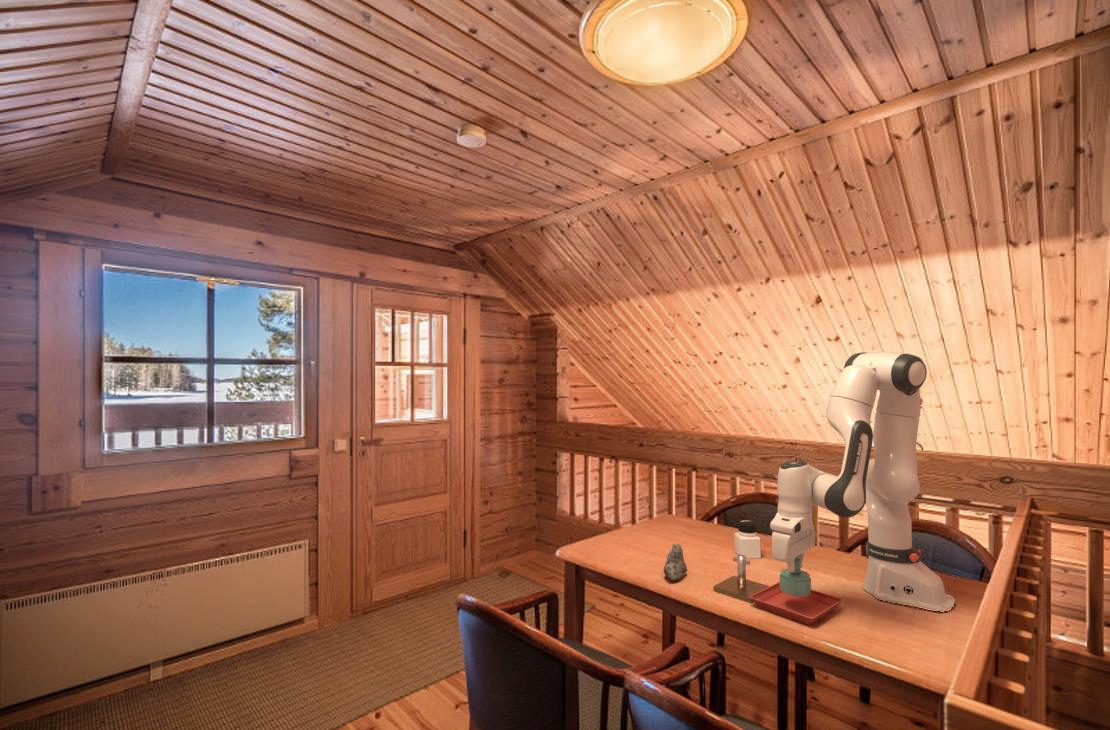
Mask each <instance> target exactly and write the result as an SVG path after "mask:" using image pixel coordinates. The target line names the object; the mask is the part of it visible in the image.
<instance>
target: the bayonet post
mask: <svg viewBox="0 0 1110 730" xmlns="http://www.w3.org/2000/svg"><path fill="white" fill-rule="evenodd" d="M736 555H737V554H736ZM732 561H733V562H736V563H737V564H736V565H737V566H736V567H737V568H736V569H737V572H736V573H737V576H736V575H732V576H729V577H727V578H726V579H723V580H722V581H720V582H718V583H717V584H714V585H713V587H712V588H713V592H715V593H718V594H721V595H724V596H728V597H731V598H732V599H733V598H734V599H737V600H740V601H743V602H746V603H749V604H752V603H754V602H753V601H752V600H751V598H750V596H751V595H753V594H755V593H758V592H760V591H762V590H764V589H766V588H768V587H770V586H771V585H767V584H764V583H761V582H757V581H754V580H750V579H747V566H749V565H751V561H750V560H747V559H746V556H744V555H737V557H732Z"/></svg>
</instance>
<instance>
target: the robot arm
mask: <svg viewBox="0 0 1110 730" xmlns="http://www.w3.org/2000/svg"><path fill="white" fill-rule="evenodd" d="M927 375H928V373H927V367H926V364H925V362H924V360H923V359H922V358H921V357H919V356H917V355H914V354H910V353H898V352H892V351H882V352H865V351H863V352H857V353H854V354H852V355H850V356H849V358H847V360H846V361H845V363H844V367H843V369H842V371H841V372H840V374H839V376H838V378H837V380H836V382H835V384H834V386H833V388H832V391H831V393H830V396H829V400H828V403H827V407H826V412H825V413H826V414H825V417H826V419H827V422H828V424H829V425H830V426H831V428H832V429H834V430H835V431H836V432H837V433H838V434H839V435H840V436H841V437H842V438H843V441H844V445H845V447H844V448H845V449H844V453H843V459H842V465H841V470H840V473H839V474H838V475H834V474H832V473H828V472H826V471H822V470H820V469H818V468H815V467H814V466H812V465H811V464H809V462H807V461H804V460H790V461H786V462H783V463H782V464H781V465H780V466H779V469H778V472H777V483H776V484H777V487H776V488H777V489H776V492H777V496H778V504H777V512H776V514H775V516H774V518H773V519H772V520H771V521H770V525H769V527H770V530H772V534H771V551H772V552H771V553H772V557H773V558H774V560H776V561H779V562H784V563H786V565H787V569H788V571H789V572H792V573H793V572H795V571H796V565H795V563H794V560H795V558H799V559H800V562H801V569H802V568H803V562H804V558H805V552H807V551H808V550H810V549H812V548H814V546H815V544H816V533H815V526H814V522H813V507H814V506H816V507H817V506H818V507H819V508H822V509H825V510H827V511H829V512H831V513H832V514H834V515H836V516H838V517H841V518H846V519H848V518H849V519H850V518H853V517H855V516H857V515H858V514H859V513H860V512H861V511H862V510H863V509H864V507H865V505H866V510H867V535H868V536H867V537H868V540H867V541H866V550H865V553H866V559H867V567H866V574H865V577H864V582H863V584H862V588H863V589H864V590H865V591H866V592H867V593H869V594H870V595H872V596H874V598H875V599H876V600H878V599H879V600H878V601H880V600H883V601H882V602H885V601H888V602H887V603H890V602H894V603H893V604H895V603H900V604H906V605H912V606H917V607H922V608H927V609H932V610H938V611H943V610H948V609H950V608H952V607H953V606H954V604H955V605H956V600H955V598H954V597H953V596H952V595H950V594H948V593H946V590H945V585H944V581H943V580H942V578H941V577H940V576H939V575H938V574H936V573H935V572H934V571H933V570H931V568H929V567H928V566H927V565H925V564H924V563H923V562H922V561H921V554H922V553H921V551H922V550H921V549H919V550H917V549H916V548H915V547H914V546H913V539H912V536H913V535H912V533H913V532H912V517H911V515H910V511H909V508H908V507H909V506H908V503H909V502H911V501H913V500H914V499H916V498H917V497H918V495H919V493H920V488H921V485H920V481H919V479H918V458H917V439H918V432H919V424H920V416H921V389H920V388H922V386H923V384H924V383H925V381H926V380H927V379H926V378H927ZM878 390H879V396H878V398H877V399H878V400H877V404H876V409H875V410H876V411H875V417H874V424H873V427H872V426H871V417H872V412H873V409H874V406H875V402H876V397H877V392H878ZM872 448H873V450H874V453H873V454H874V455H873V456H874V457H873V458H871V453H872ZM954 607H955V606H954Z"/></svg>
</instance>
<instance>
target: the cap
mask: <svg viewBox="0 0 1110 730" xmlns="http://www.w3.org/2000/svg"><path fill="white" fill-rule="evenodd" d="M794 563H795V565H796V571H795V572H793V573H792V572H789V571H788V568H783V569H781V570H780V574H779V582H780V589H781V590H782V591H783V592H784V593H786V594H789V595H793V596H808V595H809V594H811V590H812V578H811V577H810V576H811V575H810V573H808V572H807V571H805V570H802V568H801V562H800V559H799V558H795V560H794Z"/></svg>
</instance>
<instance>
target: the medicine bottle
mask: <svg viewBox="0 0 1110 730" xmlns="http://www.w3.org/2000/svg"><path fill="white" fill-rule="evenodd" d="M737 528H738V529H737V530H738V532H734V552H735V554H736V555H744V556H746V560H747V559H755V560H756V559H762V549H761V548H762V546H761V545H762V541H761V538H760V537H759V536H758V535H757V524H756V522H754V521H752V520H740V521H739V522H738V527H737Z"/></svg>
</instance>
